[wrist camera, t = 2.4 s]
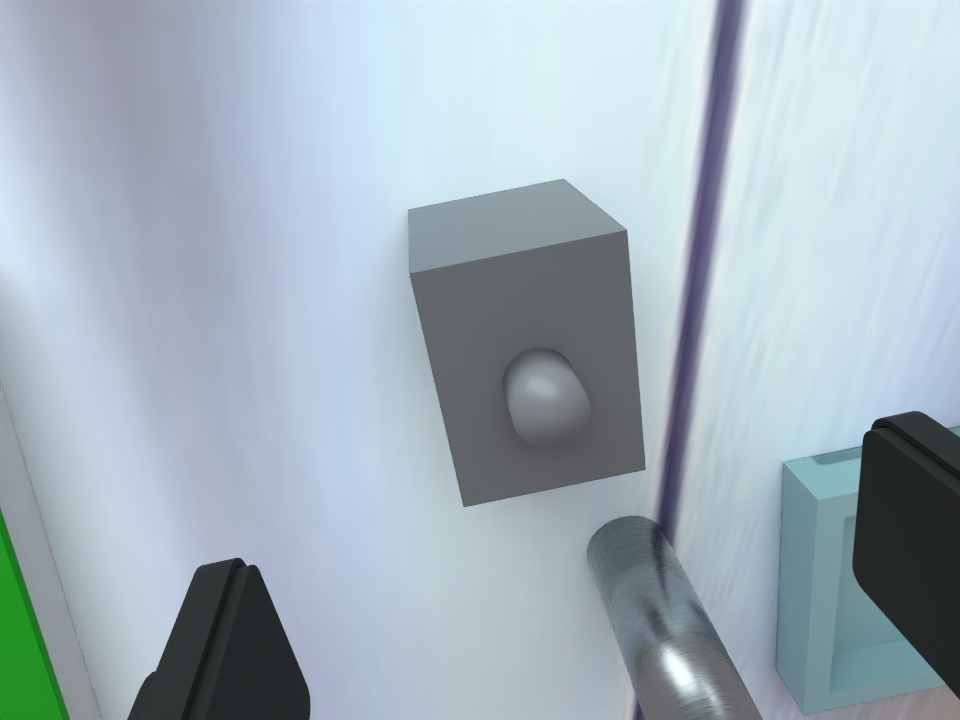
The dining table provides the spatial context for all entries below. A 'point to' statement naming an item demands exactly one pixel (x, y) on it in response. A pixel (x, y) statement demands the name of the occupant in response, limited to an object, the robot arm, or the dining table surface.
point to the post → (664, 627)
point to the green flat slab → (34, 606)
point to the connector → (529, 338)
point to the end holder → (834, 597)
